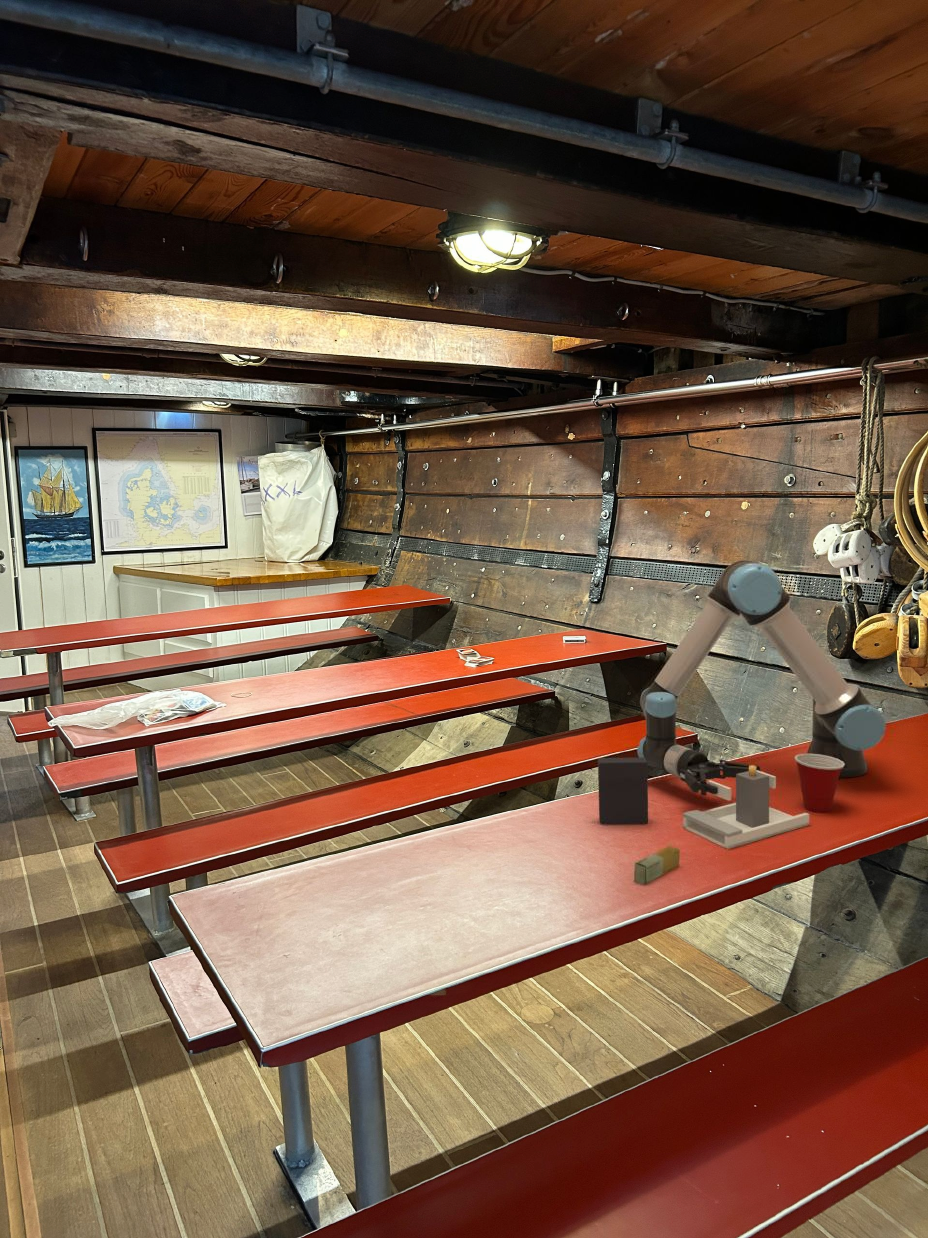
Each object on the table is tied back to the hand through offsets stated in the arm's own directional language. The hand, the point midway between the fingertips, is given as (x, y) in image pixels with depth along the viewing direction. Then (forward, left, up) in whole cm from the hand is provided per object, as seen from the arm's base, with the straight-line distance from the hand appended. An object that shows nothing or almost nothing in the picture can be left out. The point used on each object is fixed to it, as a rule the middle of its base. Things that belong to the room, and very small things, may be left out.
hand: (752, 788), depth 191 cm
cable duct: (+2, 0, -9) cm, 9 cm away
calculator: (+23, -17, -9) cm, 30 cm away
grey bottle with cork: (0, 0, -8) cm, 8 cm away
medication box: (+34, +8, -9) cm, 36 cm away
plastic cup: (-20, +1, -9) cm, 22 cm away
